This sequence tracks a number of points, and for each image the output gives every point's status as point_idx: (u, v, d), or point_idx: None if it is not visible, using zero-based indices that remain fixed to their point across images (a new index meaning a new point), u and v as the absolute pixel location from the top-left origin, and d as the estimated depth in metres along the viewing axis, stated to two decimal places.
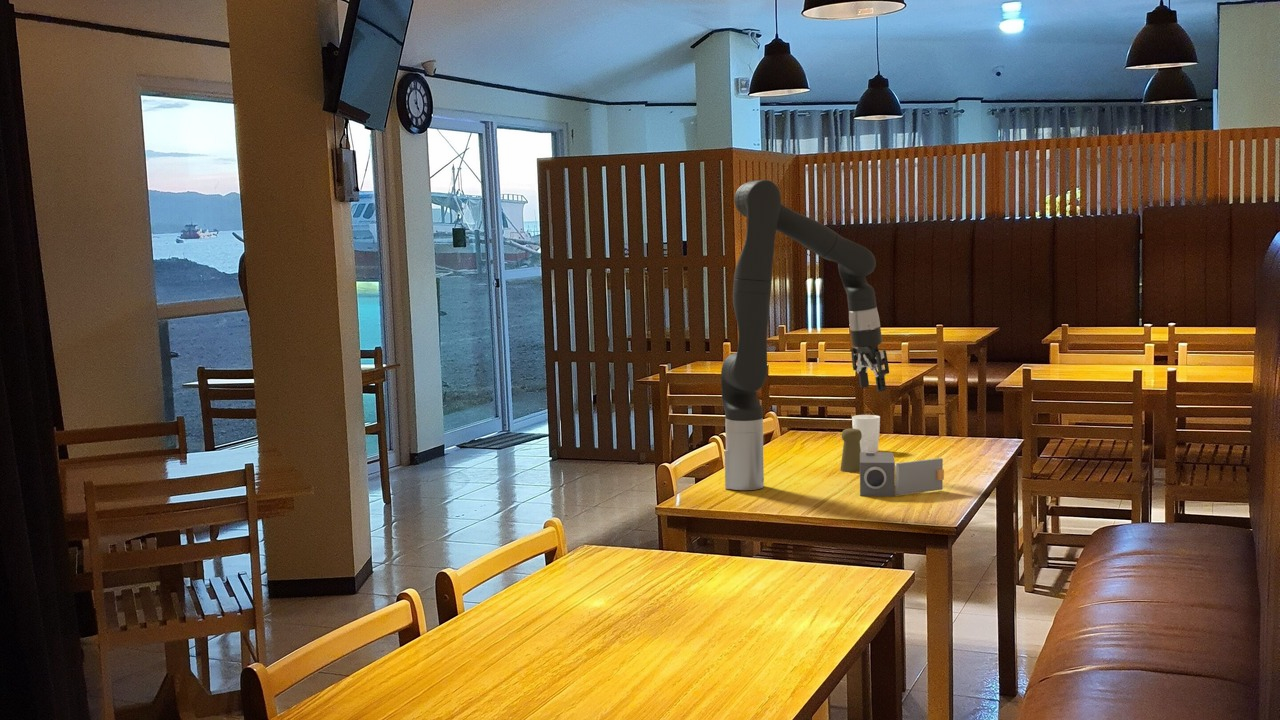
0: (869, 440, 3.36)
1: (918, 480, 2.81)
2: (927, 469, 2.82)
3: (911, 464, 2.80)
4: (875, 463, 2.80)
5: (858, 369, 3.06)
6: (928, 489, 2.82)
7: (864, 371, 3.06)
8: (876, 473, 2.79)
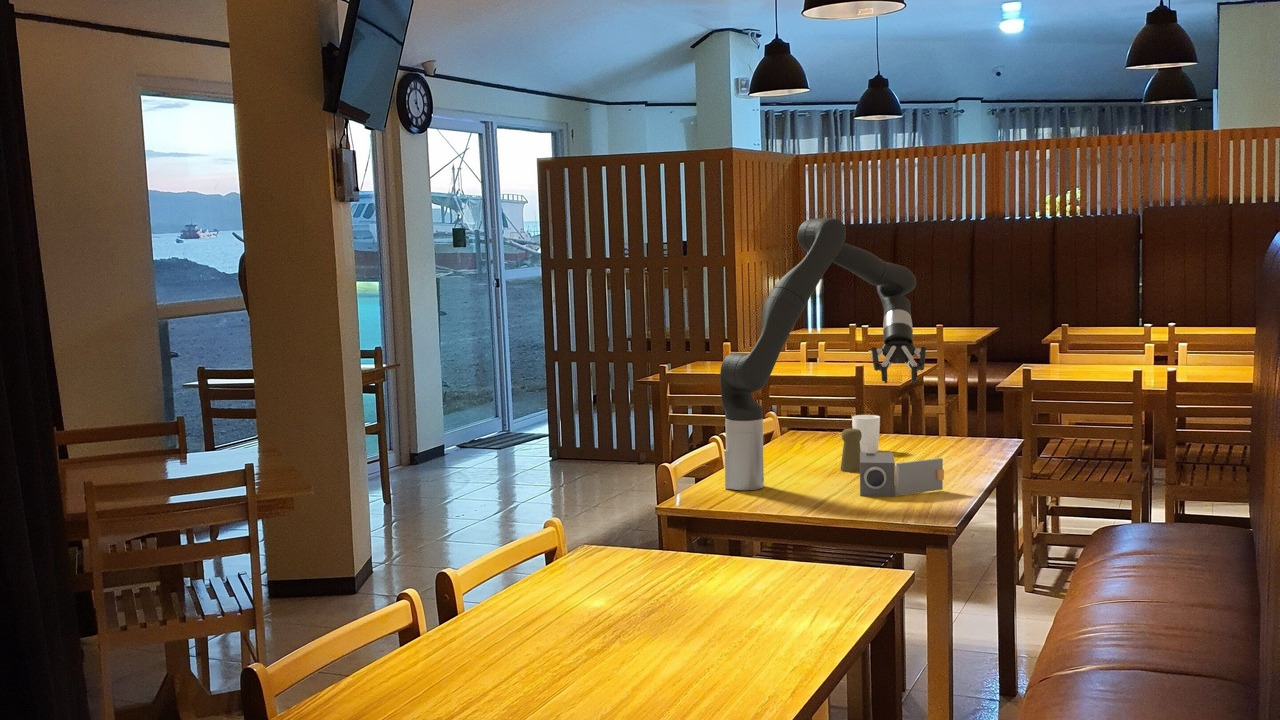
0: (869, 440, 3.36)
1: (918, 480, 2.81)
2: (927, 469, 2.82)
3: (911, 464, 2.80)
4: (875, 463, 2.80)
5: (886, 363, 3.03)
6: (928, 489, 2.82)
7: None
8: (876, 473, 2.79)
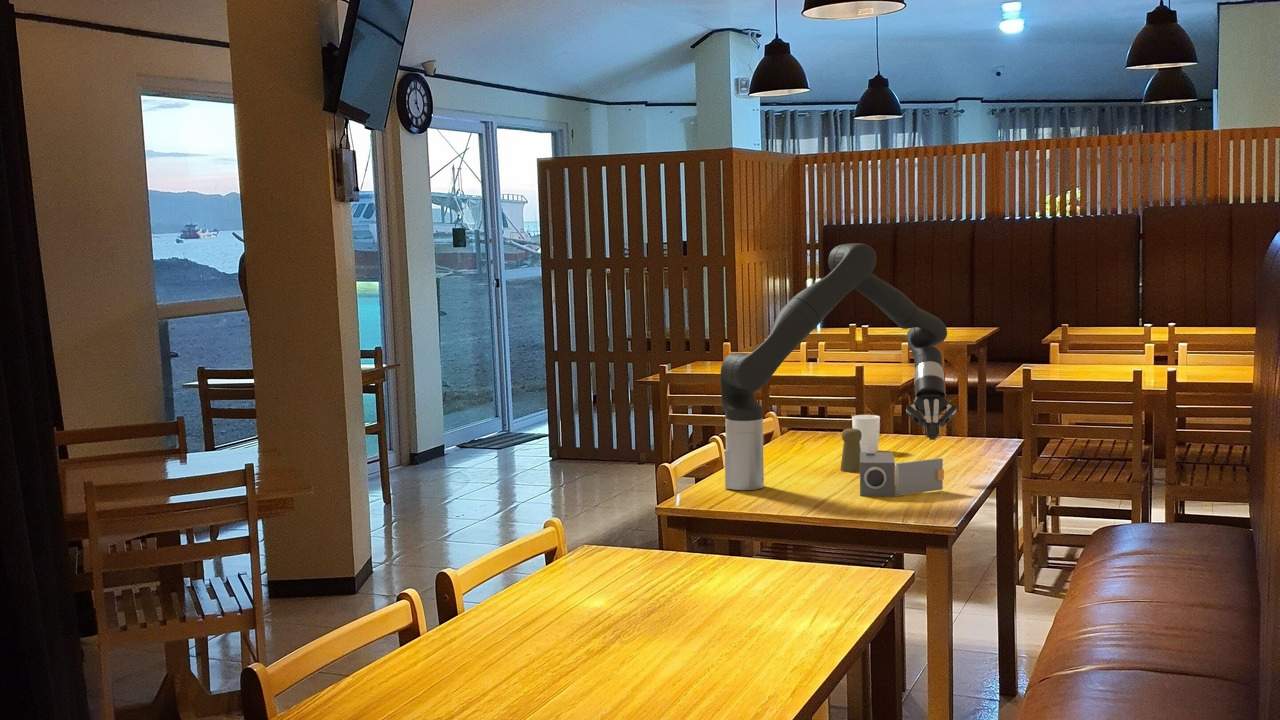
0: (869, 440, 3.36)
1: (918, 480, 2.81)
2: (927, 469, 2.82)
3: (911, 464, 2.80)
4: (875, 463, 2.80)
5: (930, 419, 2.97)
6: (928, 489, 2.82)
7: None
8: (876, 473, 2.79)
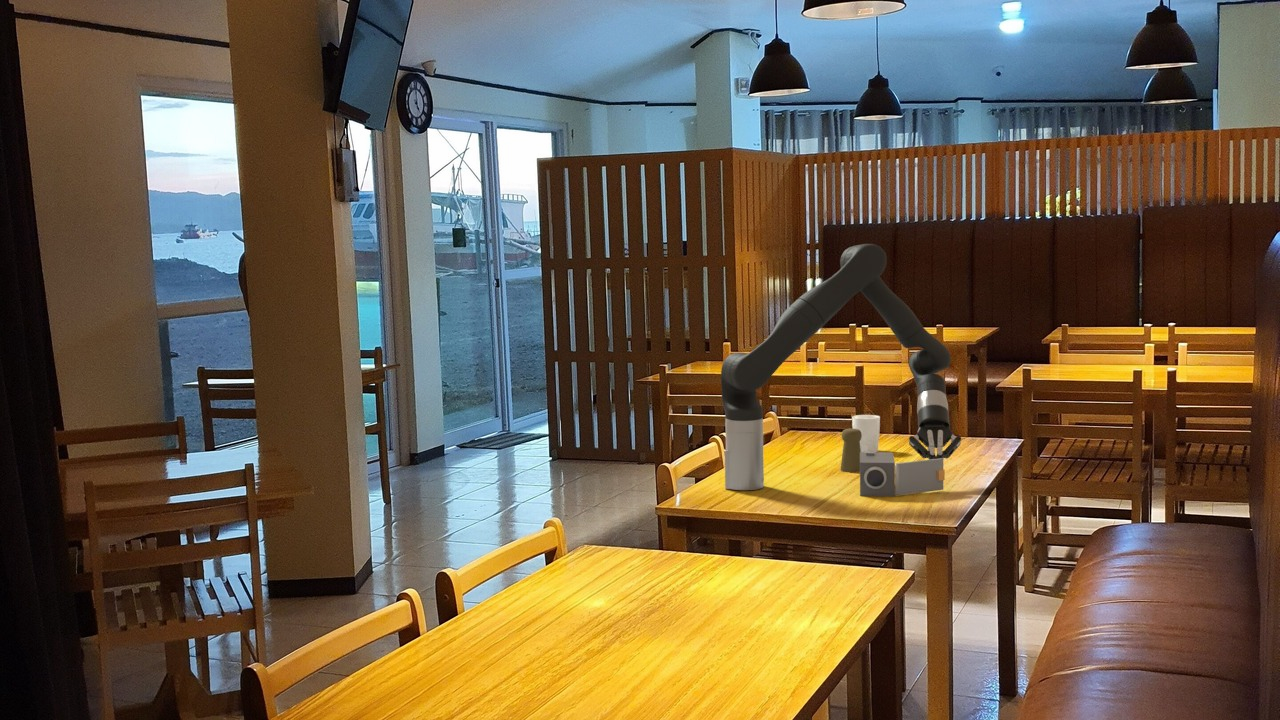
0: (869, 440, 3.36)
1: (918, 480, 2.81)
2: (928, 469, 2.82)
3: (911, 464, 2.79)
4: (875, 463, 2.80)
5: (934, 451, 2.87)
6: (929, 489, 2.82)
7: None
8: (876, 473, 2.79)
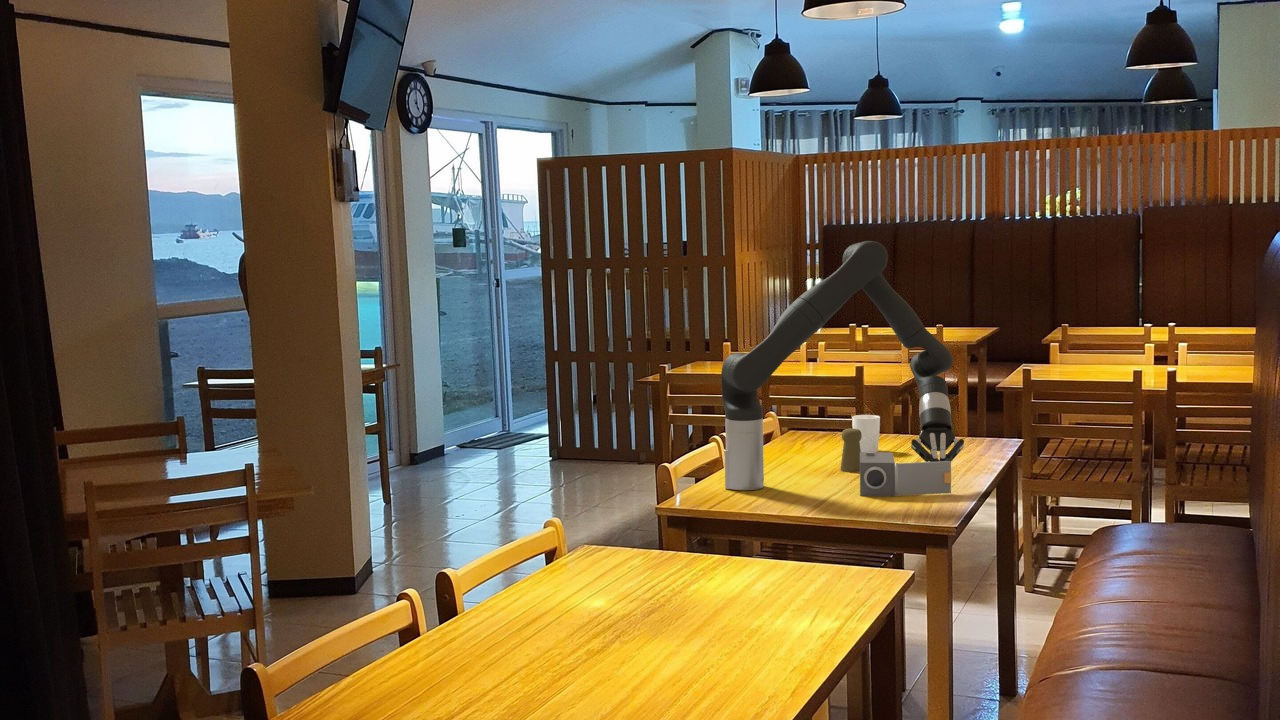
0: (869, 440, 3.36)
1: (921, 482, 2.79)
2: (932, 472, 2.79)
3: (912, 465, 2.78)
4: (875, 463, 2.80)
5: (937, 454, 2.83)
6: (933, 491, 2.79)
7: None
8: (876, 473, 2.79)
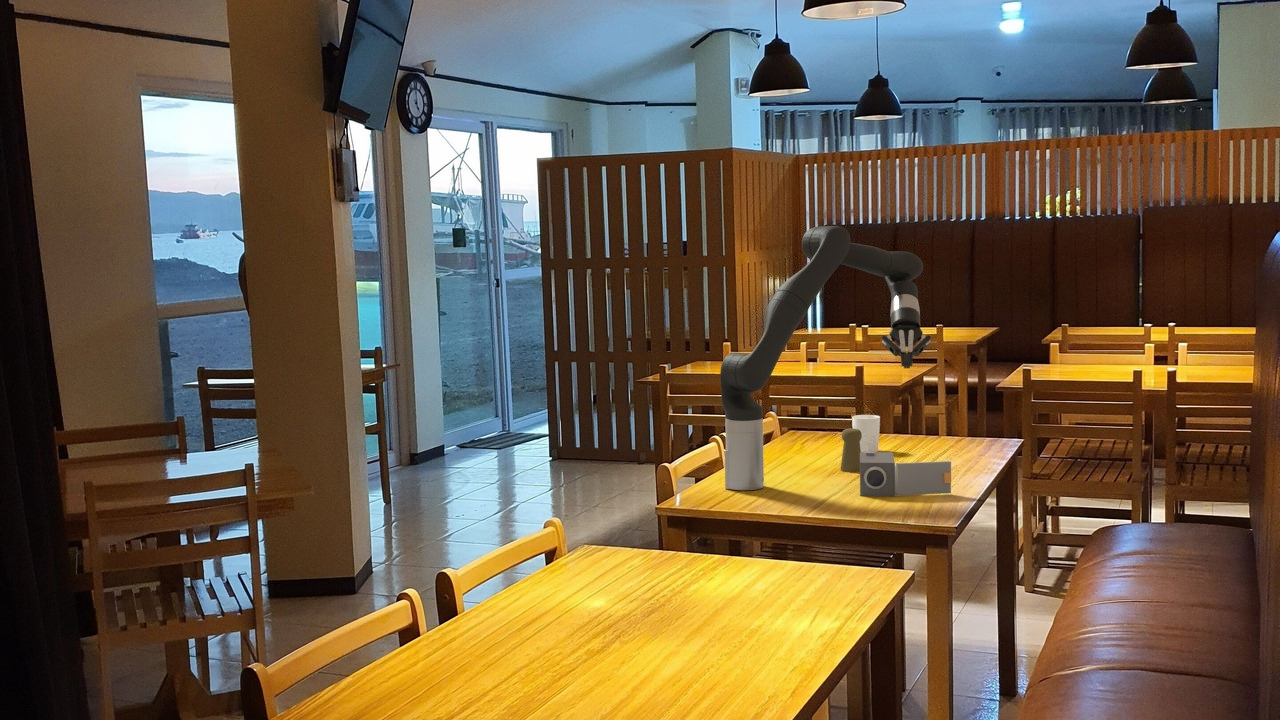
0: (869, 440, 3.36)
1: (921, 482, 2.79)
2: (932, 472, 2.79)
3: (912, 465, 2.78)
4: (875, 463, 2.80)
5: (905, 348, 3.05)
6: (933, 492, 2.79)
7: None
8: (876, 473, 2.79)
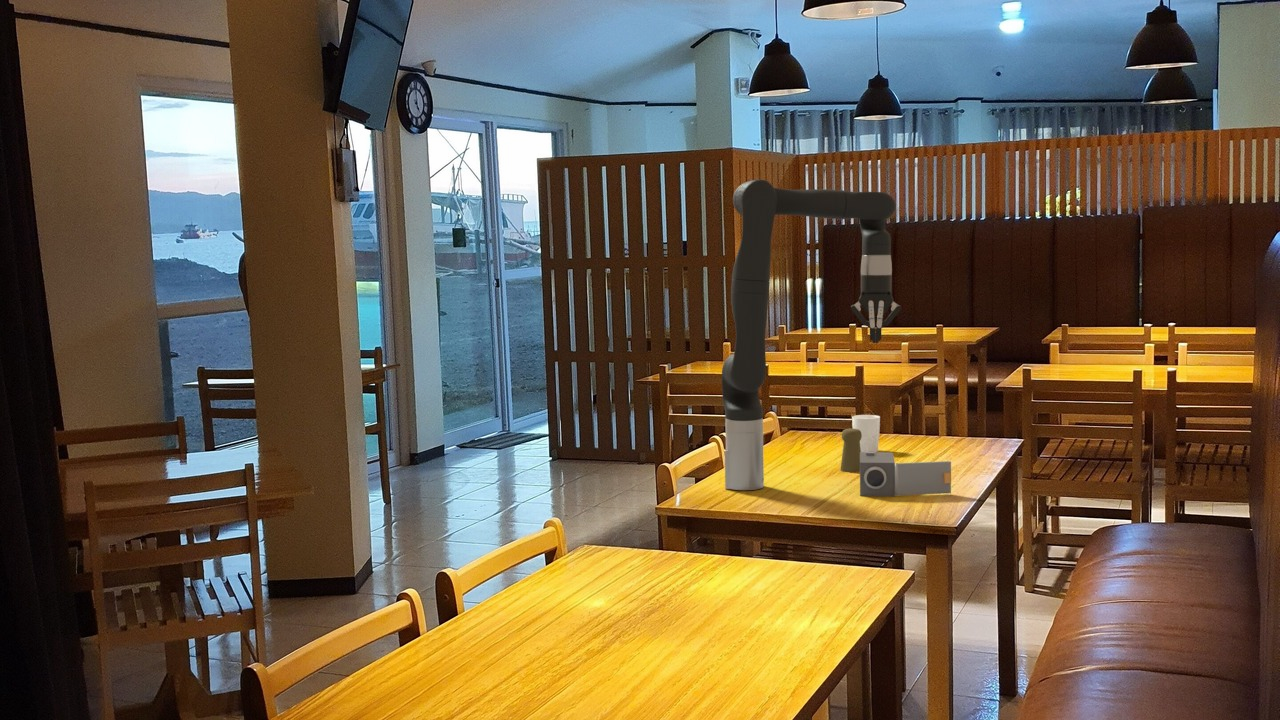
0: (869, 440, 3.36)
1: (921, 482, 2.79)
2: (932, 472, 2.79)
3: (912, 465, 2.78)
4: (875, 463, 2.80)
5: (874, 323, 2.95)
6: (933, 492, 2.79)
7: None
8: (876, 473, 2.79)
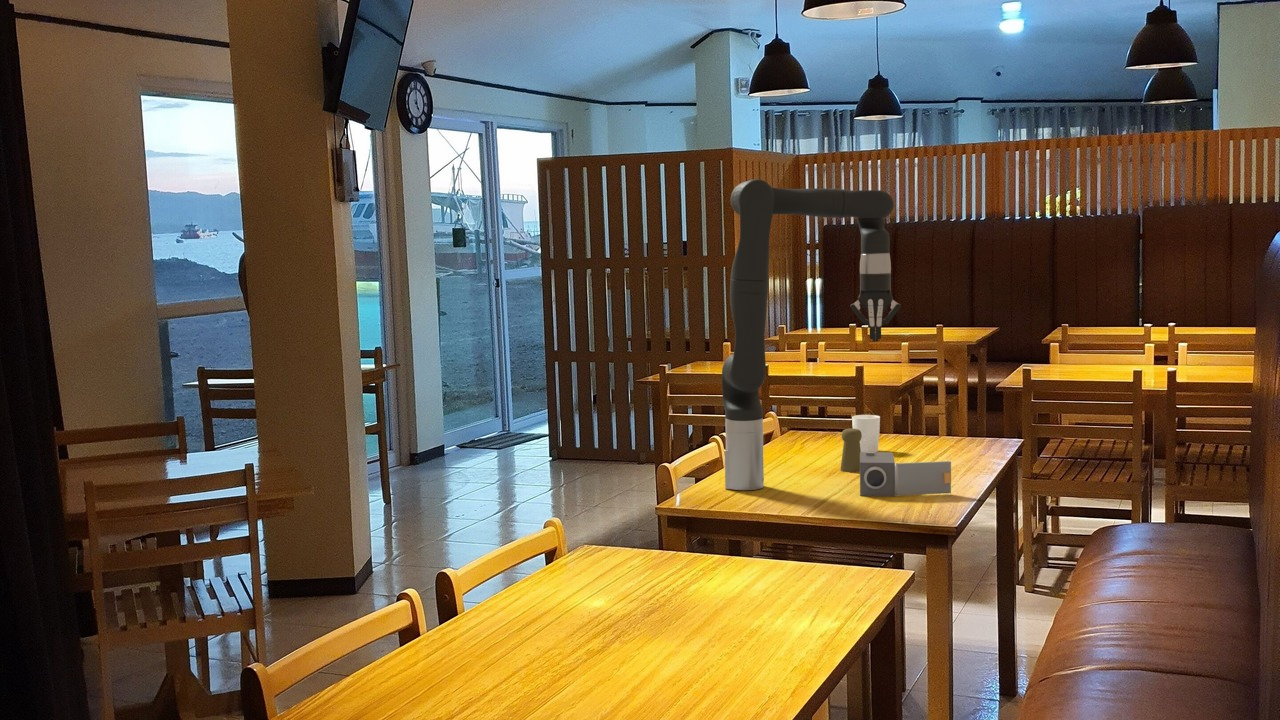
0: (869, 440, 3.36)
1: (921, 482, 2.79)
2: (932, 472, 2.79)
3: (912, 465, 2.78)
4: (875, 463, 2.80)
5: None
6: (933, 492, 2.79)
7: None
8: (876, 473, 2.79)
